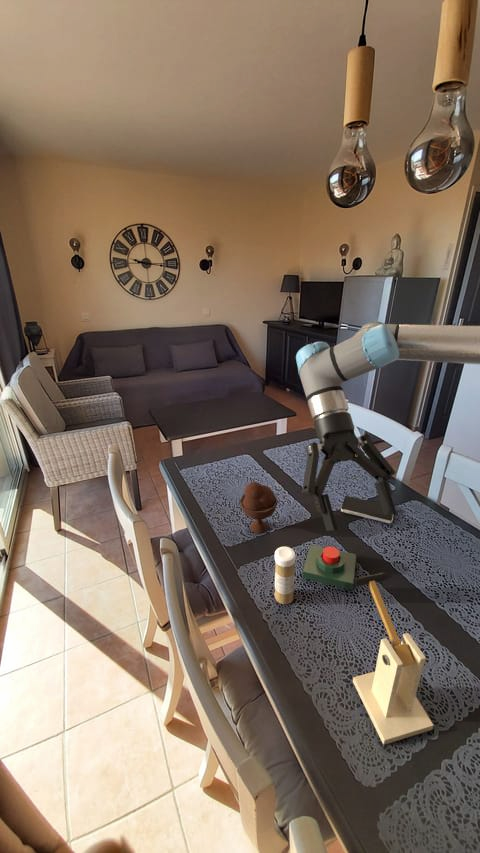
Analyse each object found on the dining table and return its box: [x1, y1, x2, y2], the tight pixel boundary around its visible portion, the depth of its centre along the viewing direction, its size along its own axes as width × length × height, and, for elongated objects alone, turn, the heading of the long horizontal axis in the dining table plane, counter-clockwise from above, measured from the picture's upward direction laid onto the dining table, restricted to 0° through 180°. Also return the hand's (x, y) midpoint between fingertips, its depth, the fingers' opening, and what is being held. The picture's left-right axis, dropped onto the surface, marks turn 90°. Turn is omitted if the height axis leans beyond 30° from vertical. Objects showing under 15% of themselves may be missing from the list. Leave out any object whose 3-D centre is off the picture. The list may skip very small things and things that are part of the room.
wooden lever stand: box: [352, 632, 434, 746], centre depth 60 cm, size 10×9×15 cm
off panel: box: [302, 544, 357, 591], centre depth 91 cm, size 12×10×4 cm
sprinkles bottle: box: [274, 546, 297, 605], centre depth 82 cm, size 5×5×14 cm
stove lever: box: [353, 572, 414, 667], centre depth 61 cm, size 14×6×2 cm, turn 14°
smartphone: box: [340, 495, 394, 524], centre depth 113 cm, size 8×1×15 cm
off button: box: [323, 546, 340, 564], centre depth 90 cm, size 4×4×2 cm
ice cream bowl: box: [239, 481, 279, 534], centre depth 105 cm, size 11×11×15 cm
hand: (362, 522), depth 68 cm, fingers open, 13 cm apart
